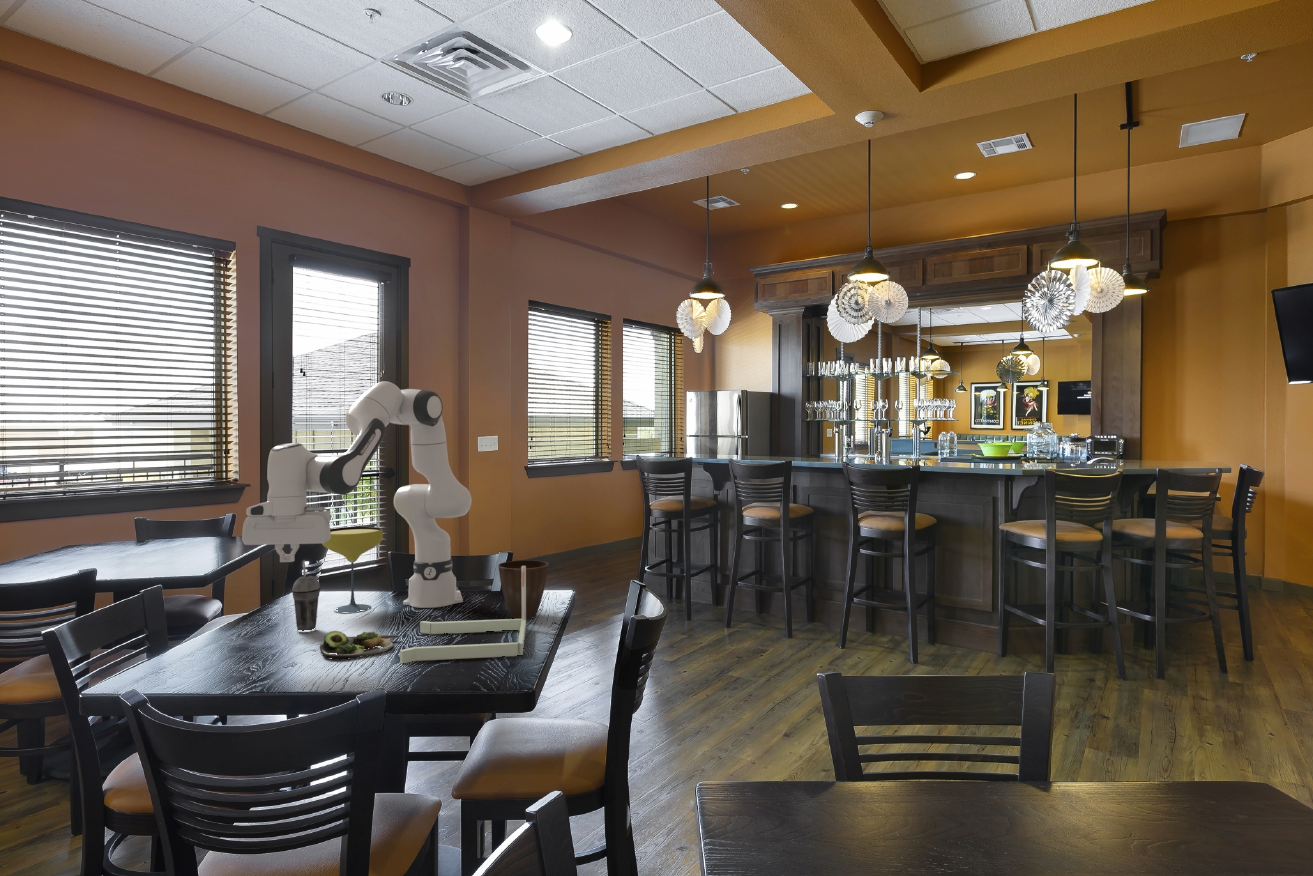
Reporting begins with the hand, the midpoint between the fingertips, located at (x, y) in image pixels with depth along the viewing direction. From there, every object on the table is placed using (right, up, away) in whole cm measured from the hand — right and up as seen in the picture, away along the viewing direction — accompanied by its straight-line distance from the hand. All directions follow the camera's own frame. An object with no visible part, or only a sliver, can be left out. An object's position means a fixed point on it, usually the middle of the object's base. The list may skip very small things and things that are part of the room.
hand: (287, 561), depth 179 cm
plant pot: (+54, -23, +34) cm, 68 cm away
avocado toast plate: (+16, -24, +2) cm, 29 cm away
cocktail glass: (-3, -23, +44) cm, 50 cm away
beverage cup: (-5, -23, +20) cm, 31 cm away
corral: (+44, -23, +7) cm, 50 cm away
